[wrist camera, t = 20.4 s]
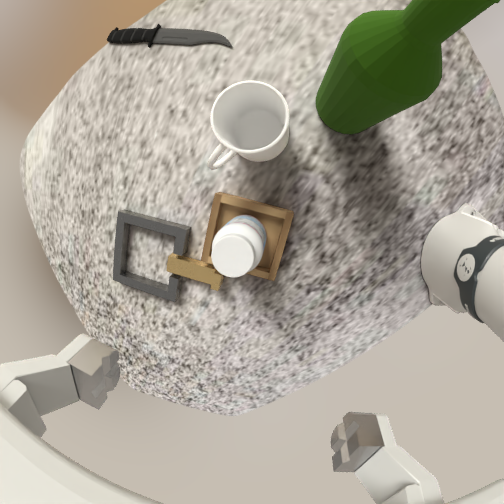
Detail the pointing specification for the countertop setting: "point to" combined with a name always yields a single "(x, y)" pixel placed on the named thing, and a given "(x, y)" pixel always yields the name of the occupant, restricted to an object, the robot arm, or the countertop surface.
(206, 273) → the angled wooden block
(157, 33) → the knife
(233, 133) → the mug
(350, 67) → the wine bottle
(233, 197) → the tray
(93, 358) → the robot arm
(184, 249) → the socket
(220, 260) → the pill bottle
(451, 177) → the countertop surface
